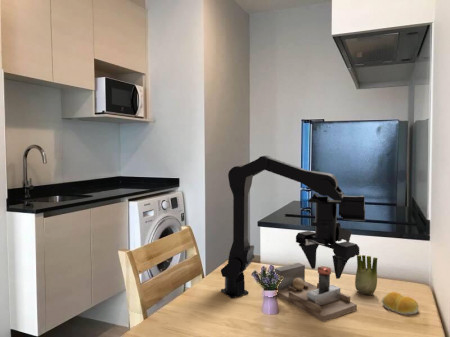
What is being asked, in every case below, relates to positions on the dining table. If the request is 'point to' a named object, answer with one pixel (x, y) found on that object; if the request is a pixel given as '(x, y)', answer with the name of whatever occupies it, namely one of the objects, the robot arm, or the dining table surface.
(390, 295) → the bread roll
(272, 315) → the dining table surface
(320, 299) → the sliding jaw
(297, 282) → the walnut
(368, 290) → the fennel bulb
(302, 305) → the base
